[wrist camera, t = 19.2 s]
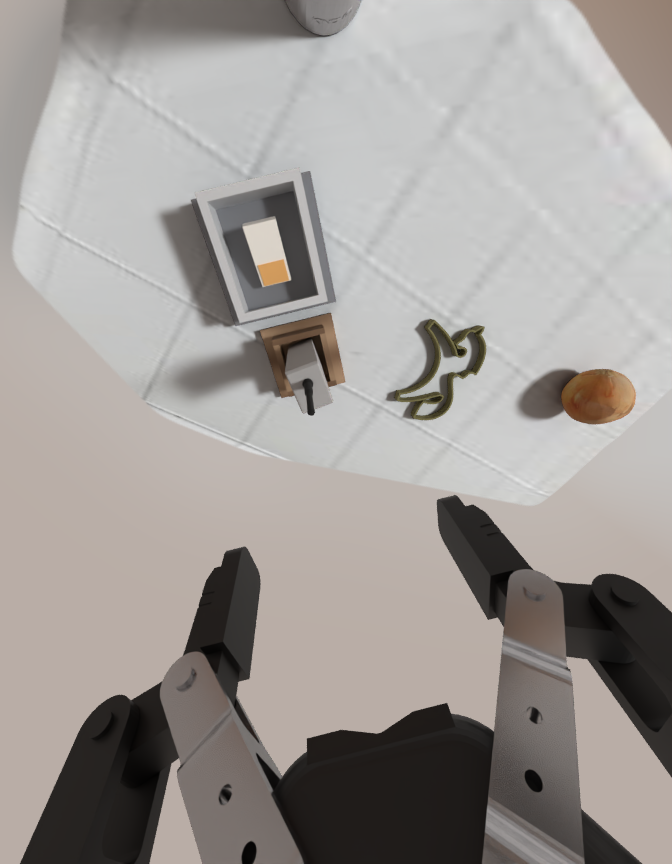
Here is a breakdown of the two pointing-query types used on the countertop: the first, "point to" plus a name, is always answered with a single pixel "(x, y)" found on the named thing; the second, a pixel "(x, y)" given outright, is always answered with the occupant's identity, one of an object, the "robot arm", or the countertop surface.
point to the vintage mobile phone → (307, 376)
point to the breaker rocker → (267, 251)
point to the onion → (598, 396)
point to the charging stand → (297, 331)
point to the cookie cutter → (465, 373)
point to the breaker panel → (299, 235)
